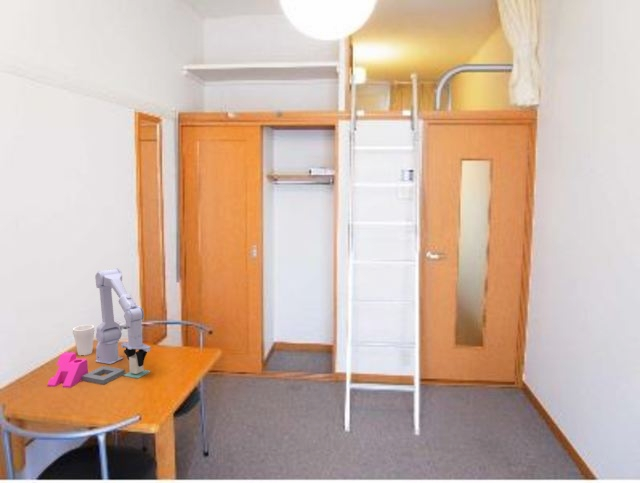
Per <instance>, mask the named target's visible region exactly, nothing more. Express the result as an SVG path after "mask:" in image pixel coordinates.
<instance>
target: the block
mask: <svg viewBox="0 0 640 483" xmlns="http://www.w3.org/2000/svg"><path fill="white" fill-rule="evenodd" d="M128 365H129V366H128V368H129V372H130V373H134V374H138V373H140V372H142V371H143V370H144V365H143V366H141V367H139V366H138V359H137V356H136V354H135V355H133V356H130V357H129V360H128Z"/></svg>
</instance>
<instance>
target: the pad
mask: <svg viewBox="0 0 640 483" xmlns="http://www.w3.org/2000/svg"><path fill="white" fill-rule="evenodd" d="M150 373H152V372H151V370H148V369H147V370H146V369H143V371H142V372H140V373H138V374H134V373H130V371H129V372H127V373H125V374H124V375H122V376H123V377H127V378H132V379H137V380H139V379H140V378H143V377H144V376H146V375H148V374H150Z"/></svg>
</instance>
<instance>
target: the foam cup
mask: <svg viewBox="0 0 640 483" xmlns="http://www.w3.org/2000/svg"><path fill="white" fill-rule="evenodd" d="M94 334H95V325H93V324H82V325H81V324H80V325H77V326H75V327H73V328H72V335H73V337H74V342H75V346H76V351H77V355H78V356H81V355H84V356H88V355H91V354H93V350H94V338H95V335H94Z"/></svg>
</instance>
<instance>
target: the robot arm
mask: <svg viewBox="0 0 640 483" xmlns="http://www.w3.org/2000/svg"><path fill="white" fill-rule="evenodd" d="M94 279H95V286H96V289H99V298H100V299H99V300H100V309H101V320H102V322H101V323H100V324H99V325H98V326H97V327H96V335H95V338H96V340H97V344H96V347H95V354H96V356H95V357H96V360H94V362H96V363H100V364H101V363H102V364H107V365H112V364H115V363H116V362H119V361H120V360H121V361H122V360H123V359H124V357H122V356H119V342H120V340H121V338H122V333H123V332H122V330H121V327H120V326H121V325H120V323H118V322H116V321H115V317H114V316H115V314H114V305H113V295H112V294H113V293H112V290H113V291H114V292H115V294H116V295H117V297H118V298H119V299H118V304H119V305H120V307H121V309H122V311H123V313H124V316H123V317H124V320H125V325H126V326H127V340H128V341H127V342H122V343H120V347H121V349H124V350H123V353H124V354H125V356H126V357H127V360H128V361H129V357H130V356H133V355H135V354H136V356H137V359H138V366H139V367H141V366H143V367H144V363H145V358H146V356H147V354H148V353H149V352H150V351H151V349H152V348H151V345H147V344H145V343H143V327H142V326H143V325H142V324H143V323H142V320H144V318H145V313H144V312H145V311H144V310H143V308H142V306H139V305H138V304H137V303H136V302H135V300H134V298H133V296H132V294H128V293H127V291H126V288H125V286H124V284H123V274H122V271H121V270H120V269H119V268H114V269H109V270H108V269H107V270H98V271H97V272H96V274H95V277H94Z"/></svg>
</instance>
